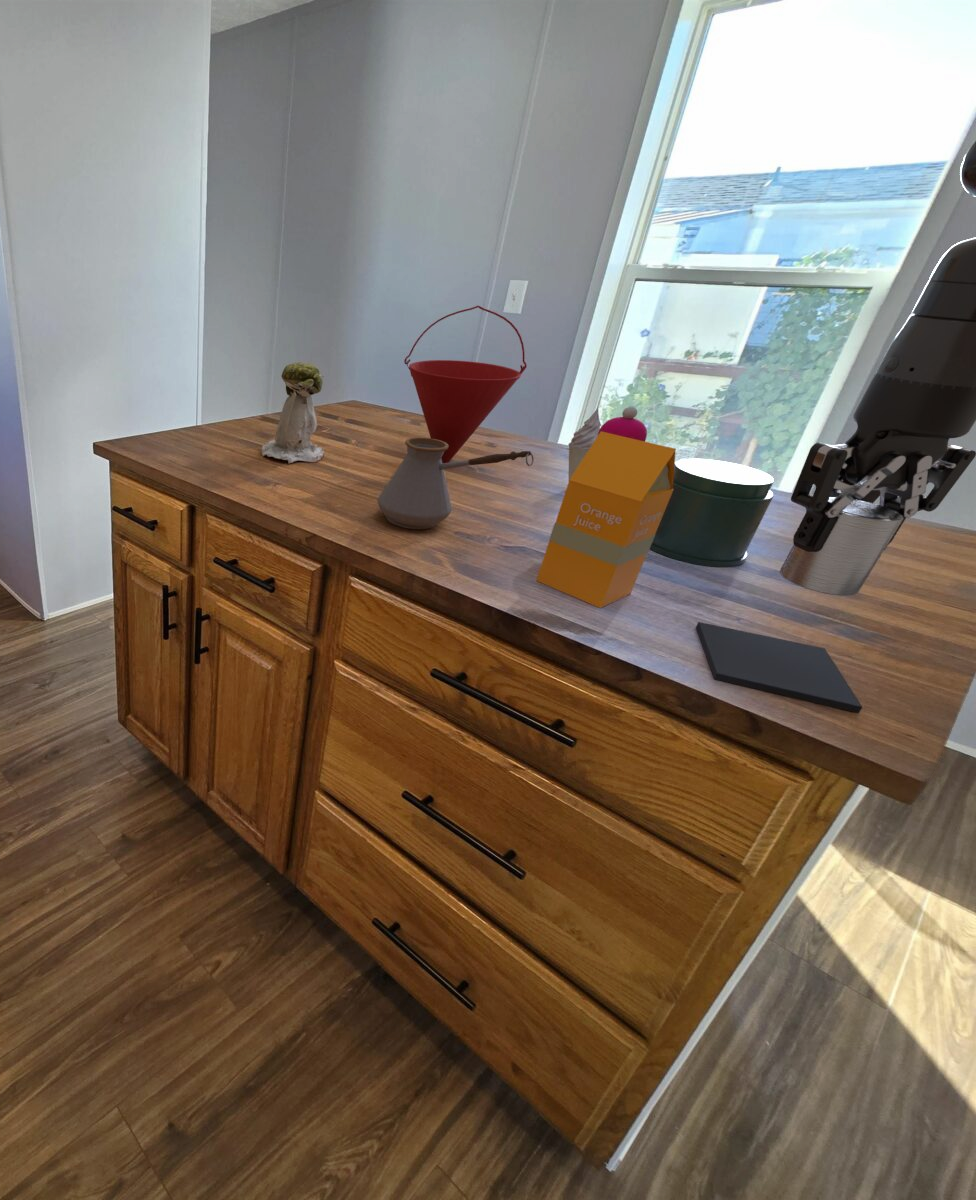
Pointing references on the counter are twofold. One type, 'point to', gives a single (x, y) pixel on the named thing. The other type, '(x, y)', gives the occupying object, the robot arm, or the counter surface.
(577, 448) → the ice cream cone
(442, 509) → the coffee pot
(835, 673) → the mat
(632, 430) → the pepper mill
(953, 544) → the counter surface
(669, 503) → the canister
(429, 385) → the fire bucket
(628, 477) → the orange juice
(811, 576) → the silver cup
